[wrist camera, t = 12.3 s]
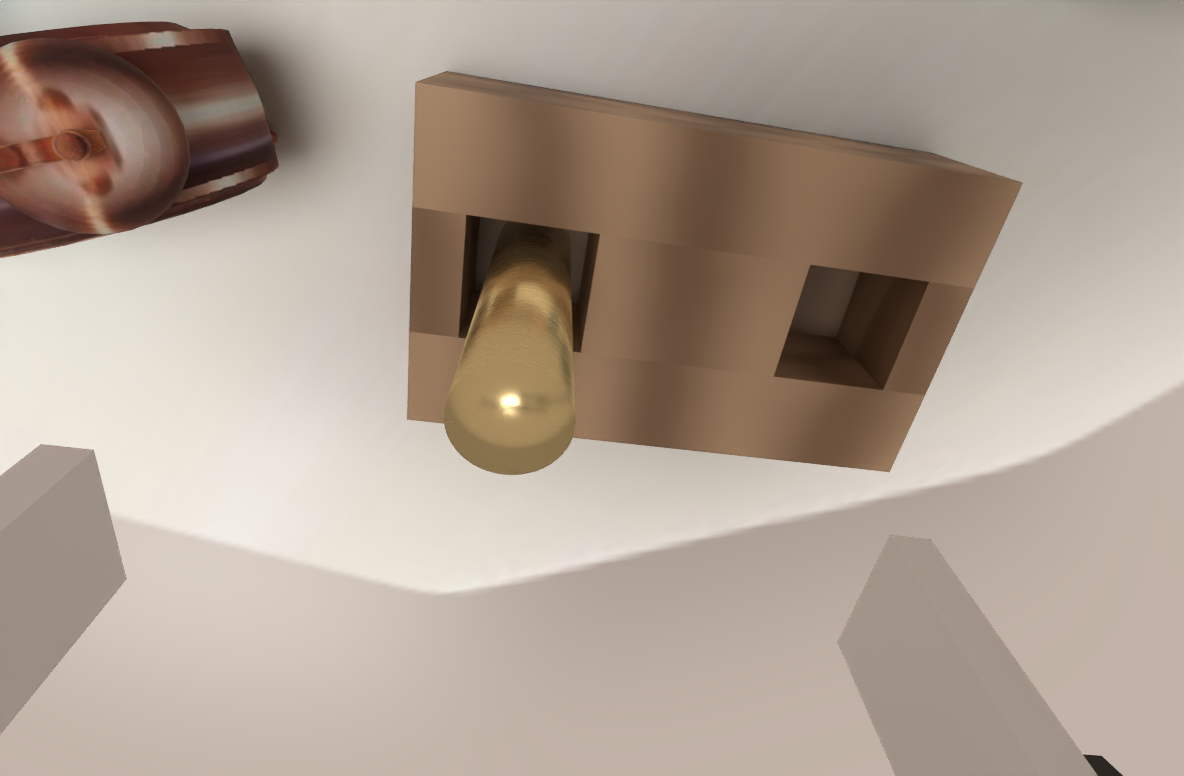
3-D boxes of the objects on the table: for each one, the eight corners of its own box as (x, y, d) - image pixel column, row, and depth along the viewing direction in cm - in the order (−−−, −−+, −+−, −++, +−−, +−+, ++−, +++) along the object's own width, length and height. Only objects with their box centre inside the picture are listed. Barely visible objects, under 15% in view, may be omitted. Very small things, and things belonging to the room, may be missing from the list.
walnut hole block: (932, 153, 27) (1022, 182, 22) (836, 400, 33) (889, 472, 27) (446, 71, 25) (415, 82, 20) (433, 352, 30) (407, 419, 25)
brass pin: (574, 215, 27) (584, 371, 14) (564, 284, 28) (566, 480, 16) (501, 204, 26) (447, 355, 14) (495, 275, 28) (440, 467, 15)
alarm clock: (80, 199, 26) (-392, 365, 13) (10, 69, 24) (-645, 117, 11) (339, 151, 26) (113, 275, 13) (292, 14, 24) (-41, -5, 11)
